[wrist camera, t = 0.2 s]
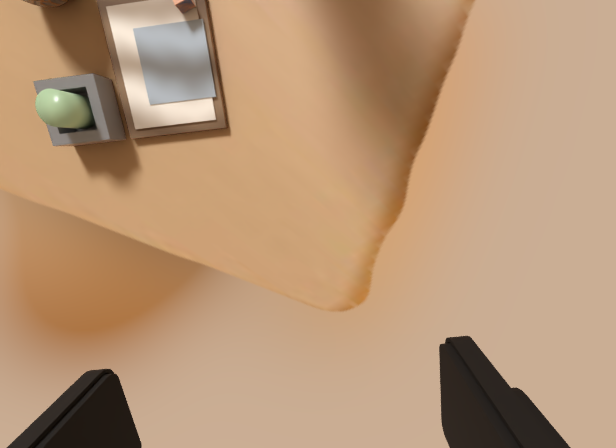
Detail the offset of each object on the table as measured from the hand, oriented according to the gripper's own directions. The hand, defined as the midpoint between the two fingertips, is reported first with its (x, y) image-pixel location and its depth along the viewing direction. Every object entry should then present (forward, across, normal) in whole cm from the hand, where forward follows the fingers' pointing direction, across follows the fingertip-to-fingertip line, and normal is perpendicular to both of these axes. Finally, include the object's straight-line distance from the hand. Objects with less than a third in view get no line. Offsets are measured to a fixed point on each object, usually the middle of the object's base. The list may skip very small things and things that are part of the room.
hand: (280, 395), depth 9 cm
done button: (+29, +25, -14) cm, 41 cm away
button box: (+31, +25, -14) cm, 43 cm away
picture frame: (+31, +15, -18) cm, 39 cm away
